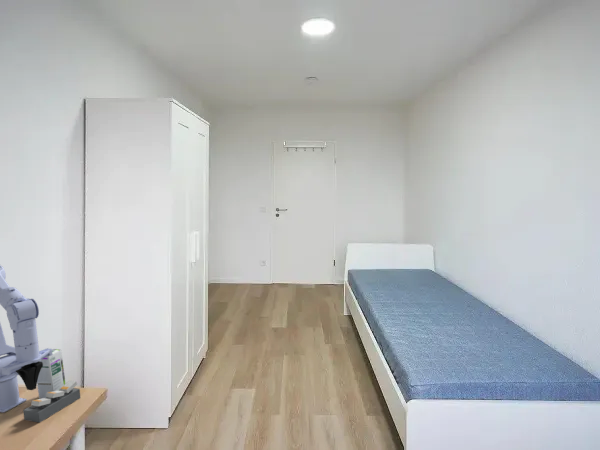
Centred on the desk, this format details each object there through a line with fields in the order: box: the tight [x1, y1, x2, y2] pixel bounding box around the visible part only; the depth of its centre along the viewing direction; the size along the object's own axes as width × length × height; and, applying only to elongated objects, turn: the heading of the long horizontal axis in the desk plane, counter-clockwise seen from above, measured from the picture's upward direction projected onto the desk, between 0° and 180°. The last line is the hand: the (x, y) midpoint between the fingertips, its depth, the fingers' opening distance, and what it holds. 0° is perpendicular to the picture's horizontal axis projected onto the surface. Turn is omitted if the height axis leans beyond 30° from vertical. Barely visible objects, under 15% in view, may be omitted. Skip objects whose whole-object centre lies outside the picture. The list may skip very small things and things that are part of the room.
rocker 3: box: [60, 380, 78, 393], centre depth 141 cm, size 3×4×1 cm
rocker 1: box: [30, 398, 51, 406], centre depth 132 cm, size 3×4×1 cm
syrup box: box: [36, 348, 66, 399], centre depth 146 cm, size 6×6×14 cm
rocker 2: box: [46, 390, 64, 398], centre depth 136 cm, size 3×4×1 cm
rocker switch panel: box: [22, 387, 81, 423], centre depth 137 cm, size 6×15×4 cm, turn 161°
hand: (31, 388), depth 129 cm, fingers closed
